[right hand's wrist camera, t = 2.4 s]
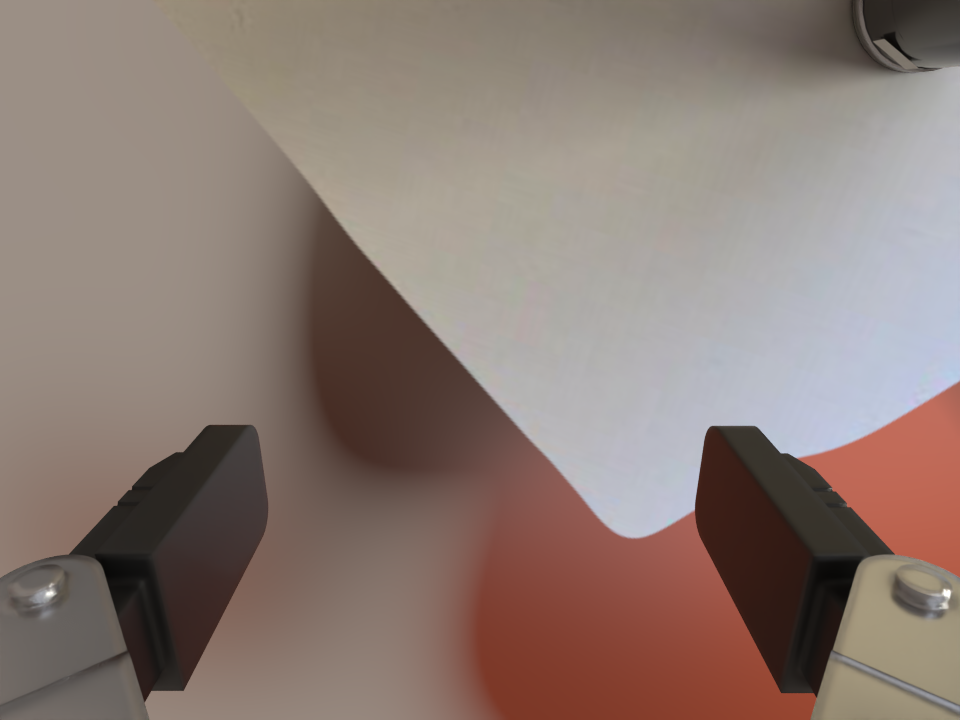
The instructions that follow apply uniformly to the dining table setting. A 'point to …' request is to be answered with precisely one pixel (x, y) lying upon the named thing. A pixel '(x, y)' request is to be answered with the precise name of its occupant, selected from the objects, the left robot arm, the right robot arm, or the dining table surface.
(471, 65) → the dining table surface
